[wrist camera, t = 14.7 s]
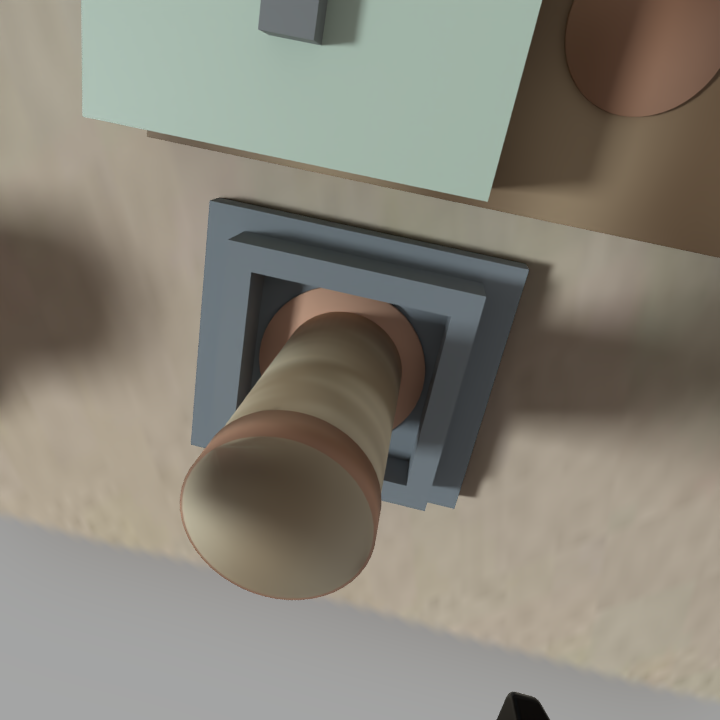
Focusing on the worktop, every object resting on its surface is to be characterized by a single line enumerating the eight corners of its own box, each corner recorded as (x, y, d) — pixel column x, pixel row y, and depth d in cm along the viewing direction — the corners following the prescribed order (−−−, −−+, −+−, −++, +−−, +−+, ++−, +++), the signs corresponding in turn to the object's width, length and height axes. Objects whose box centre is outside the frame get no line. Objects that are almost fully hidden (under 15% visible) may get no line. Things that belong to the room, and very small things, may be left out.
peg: (415, 325, 18) (395, 462, 11) (389, 435, 20) (355, 619, 12) (290, 297, 18) (185, 412, 11) (274, 408, 20) (174, 573, 12)
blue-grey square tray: (525, 264, 18) (535, 282, 16) (454, 495, 21) (454, 535, 19) (219, 197, 18) (189, 206, 16) (199, 434, 22) (173, 466, 20)
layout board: (1032, -156, 13) (1088, -183, 12) (810, 273, 17) (835, 283, 16) (180, -296, 14) (157, -333, 13) (162, 136, 18) (143, 136, 17)
